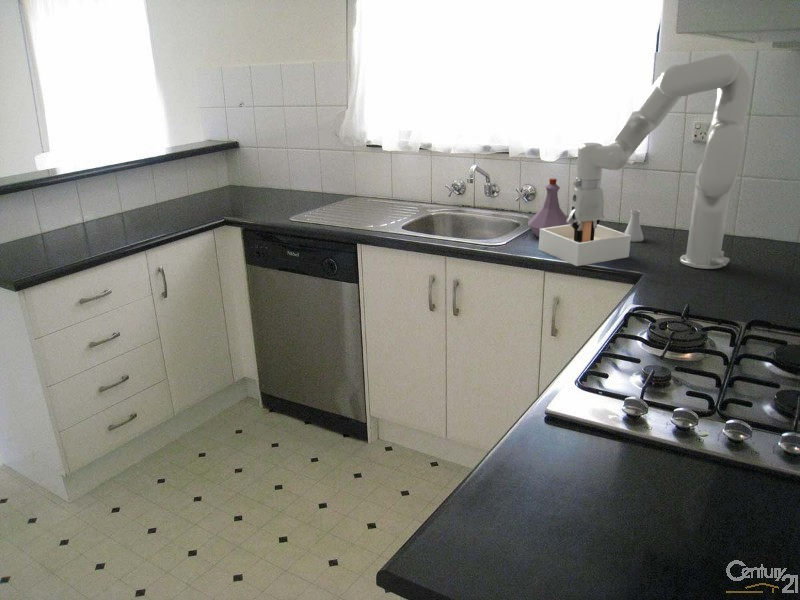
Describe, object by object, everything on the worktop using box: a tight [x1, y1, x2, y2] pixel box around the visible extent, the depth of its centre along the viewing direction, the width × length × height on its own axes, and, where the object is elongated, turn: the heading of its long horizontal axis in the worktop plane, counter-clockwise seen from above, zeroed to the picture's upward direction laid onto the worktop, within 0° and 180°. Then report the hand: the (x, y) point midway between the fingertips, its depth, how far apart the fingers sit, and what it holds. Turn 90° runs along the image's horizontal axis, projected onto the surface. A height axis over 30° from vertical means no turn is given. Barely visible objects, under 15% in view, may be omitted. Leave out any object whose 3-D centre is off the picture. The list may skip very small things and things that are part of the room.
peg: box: [581, 221, 592, 242], centre depth 215 cm, size 4×4×10 cm
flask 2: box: [624, 209, 645, 243], centre depth 229 cm, size 7×7×10 cm
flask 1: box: [527, 178, 569, 238], centre depth 234 cm, size 16×16×20 cm
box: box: [538, 224, 631, 267], centre depth 216 cm, size 20×20×7 cm
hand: (583, 240), depth 216 cm, fingers closed on peg, 4 cm apart
